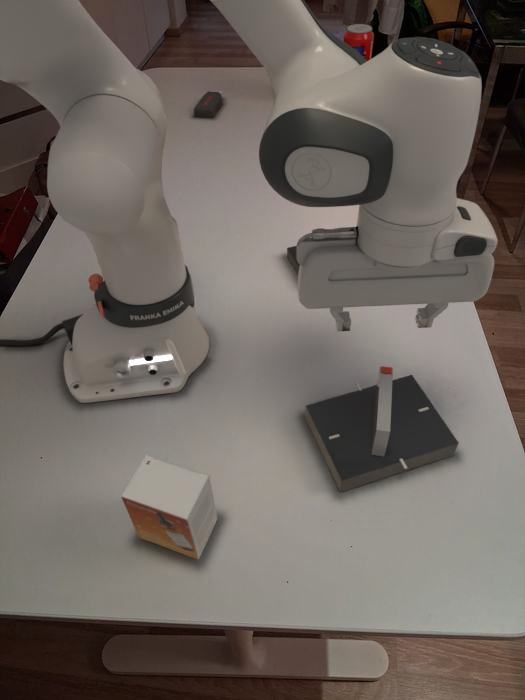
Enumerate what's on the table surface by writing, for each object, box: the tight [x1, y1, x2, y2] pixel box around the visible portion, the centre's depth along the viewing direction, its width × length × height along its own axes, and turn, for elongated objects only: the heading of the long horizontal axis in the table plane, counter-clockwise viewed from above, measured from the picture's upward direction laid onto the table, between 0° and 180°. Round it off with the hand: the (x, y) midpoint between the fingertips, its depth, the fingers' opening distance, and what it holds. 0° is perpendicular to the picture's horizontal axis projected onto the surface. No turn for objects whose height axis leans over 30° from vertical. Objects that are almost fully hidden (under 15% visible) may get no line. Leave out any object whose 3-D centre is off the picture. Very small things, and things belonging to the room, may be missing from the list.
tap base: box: [304, 374, 459, 493], centre depth 71 cm, size 16×14×3 cm
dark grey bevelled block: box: [193, 90, 223, 119], centre depth 144 cm, size 5×12×3 cm, turn 167°
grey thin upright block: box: [371, 366, 394, 457], centre depth 68 cm, size 10×2×6 cm, turn 169°
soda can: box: [342, 23, 375, 61], centre depth 145 cm, size 8×8×15 cm
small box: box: [120, 454, 219, 561], centre depth 61 cm, size 8×6×10 cm
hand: (382, 326), depth 63 cm, fingers open, 8 cm apart
